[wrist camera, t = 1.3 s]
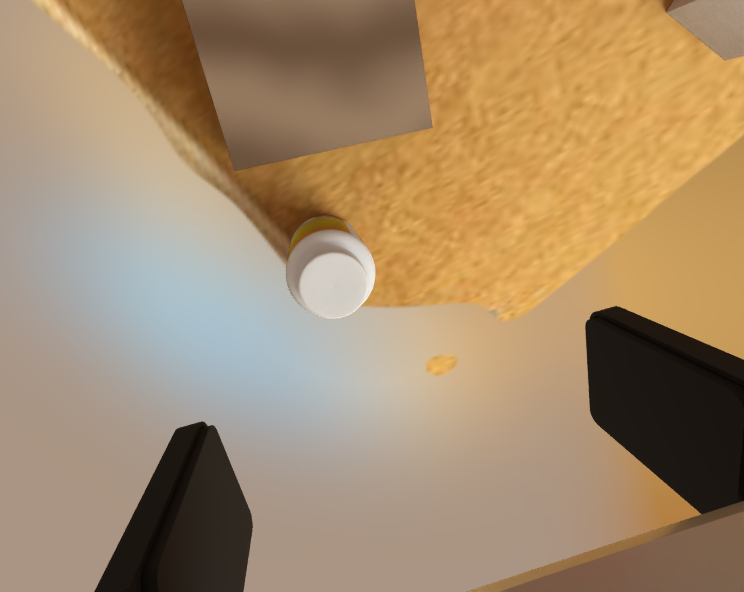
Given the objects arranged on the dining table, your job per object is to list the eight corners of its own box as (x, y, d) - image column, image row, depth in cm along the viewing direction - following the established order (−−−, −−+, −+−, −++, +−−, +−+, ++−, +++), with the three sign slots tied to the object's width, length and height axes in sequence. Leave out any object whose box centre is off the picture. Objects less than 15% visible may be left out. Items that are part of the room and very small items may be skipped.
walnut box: (194, -22, 26) (155, -85, 19) (374, -55, 27) (396, -126, 20) (250, 168, 30) (234, 170, 23) (405, 134, 31) (432, 127, 24)
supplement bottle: (275, 252, 32) (261, 291, 22) (322, 198, 31) (329, 215, 22) (328, 296, 34) (337, 350, 24) (374, 246, 33) (402, 281, 23)
